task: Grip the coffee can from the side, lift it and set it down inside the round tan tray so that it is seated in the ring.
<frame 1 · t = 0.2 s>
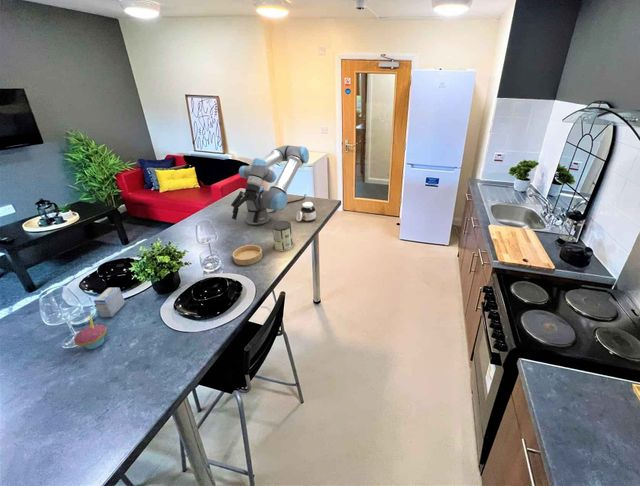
hand: (244, 221, 161), 15 cm above the table, tool tilted 35°, fingers open, 13 cm apart
spread jar: (305, 220, 198), on the table
medicine box: (114, 310, 118), on the table
coffee can: (283, 246, 166), on the table
round tan tray: (248, 257, 155), on the table
cupcake: (95, 344, 103), on the table
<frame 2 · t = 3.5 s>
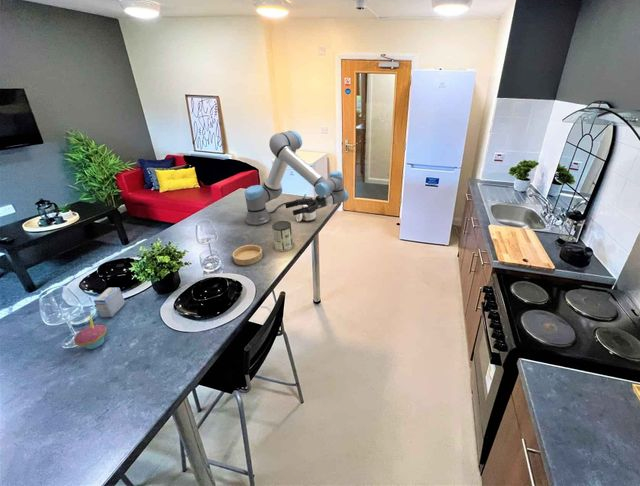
hand: (289, 209, 162), 21 cm above the table, tool horizontal, fingers open, 13 cm apart
nothing on the table moved.
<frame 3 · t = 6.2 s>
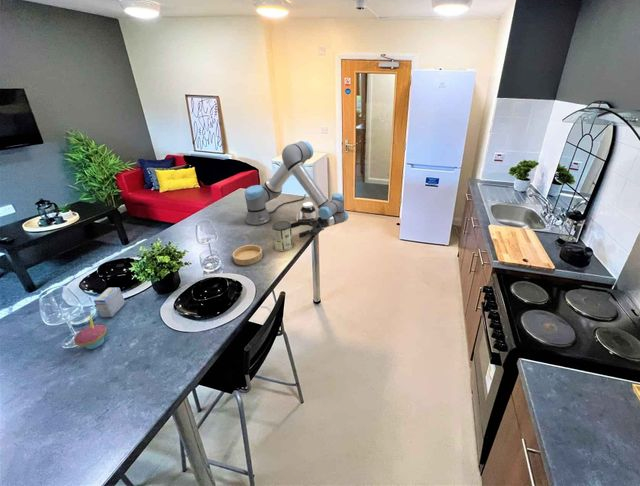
hand: (293, 231, 167), 8 cm above the table, tool horizontal, fingers open, 13 cm apart
nothing on the table moved.
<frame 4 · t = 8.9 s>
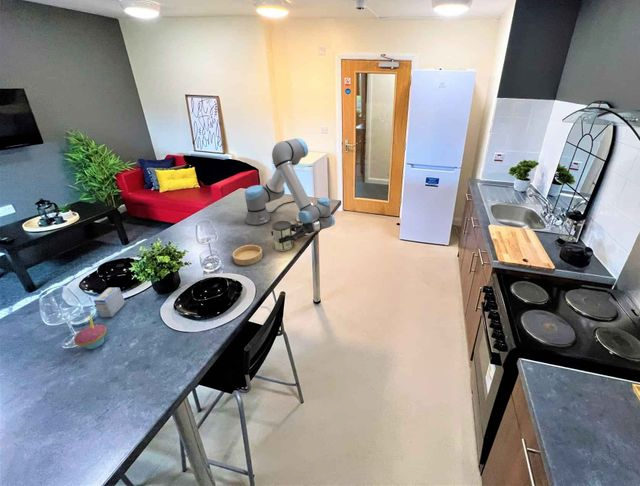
hand: (275, 237, 161), 7 cm above the table, tool horizontal, fingers closed on coffee can, 10 cm apart
coffee can: (283, 246, 166), on the table, touching gripper
everything else where it was.
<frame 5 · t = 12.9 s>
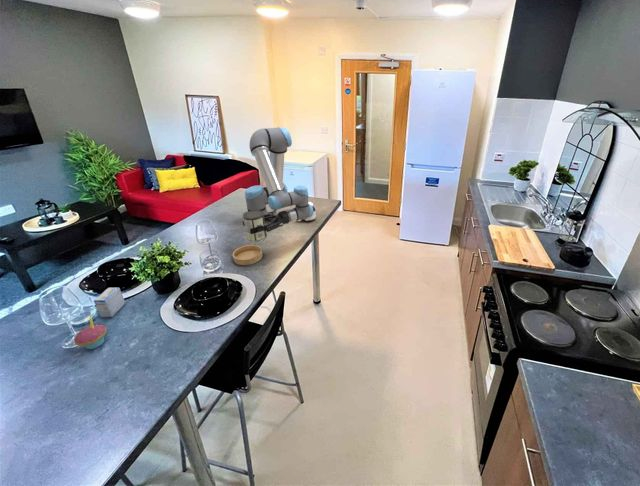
hand: (246, 227, 148), 18 cm above the table, tool horizontal, fingers closed on coffee can, 10 cm apart
coffee can: (257, 238, 154), point 10 cm above the table, touching gripper
everything else where it was.
when the fingers open (8 cm above the table, at t = 16.9 s): coffee can stays where it is, resting on round tan tray.
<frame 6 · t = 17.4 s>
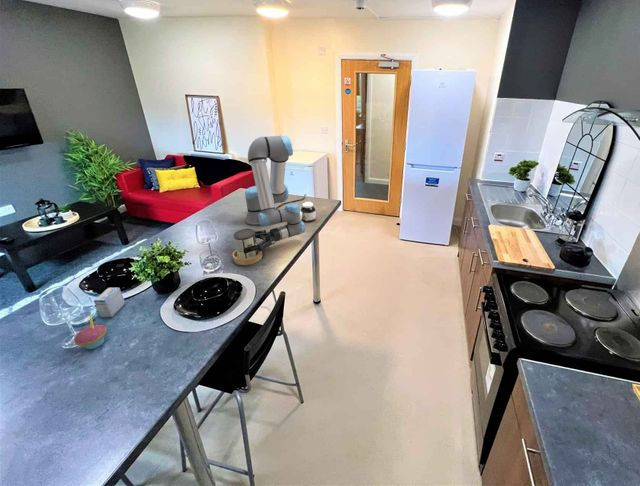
hand: (239, 245, 150), 9 cm above the table, tool horizontal, fingers open, 13 cm apart
coffee can: (248, 256, 155), point 1 cm above the table, touching round tan tray
everything else where it was.
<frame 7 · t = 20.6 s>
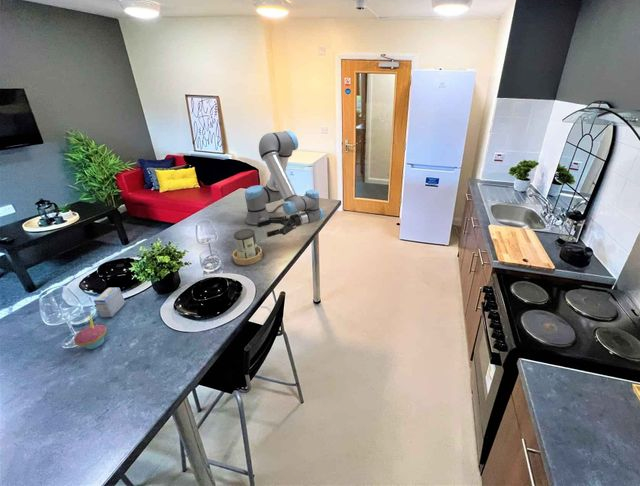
hand: (262, 229, 155), 14 cm above the table, tool horizontal, fingers open, 13 cm apart
nothing on the table moved.
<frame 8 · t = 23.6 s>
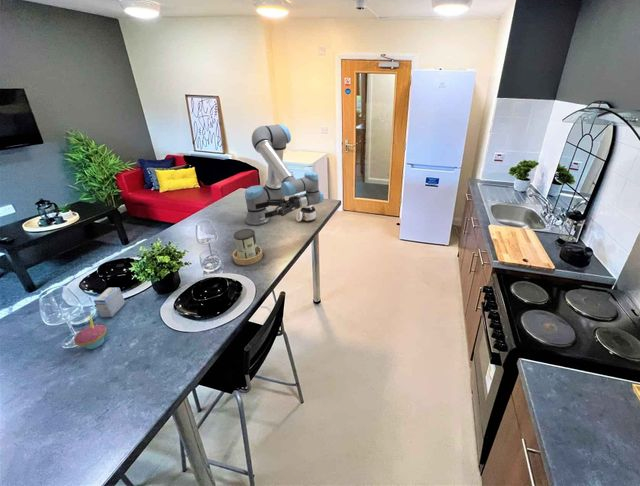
hand: (260, 211, 150), 25 cm above the table, tool horizontal, fingers open, 13 cm apart
nothing on the table moved.
at the end: coffee can 0.0 cm off-centre in the round tan tray, point 0.6 cm above the round tan tray's base; coffee can tilted 0°; the gripper is holding nothing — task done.
